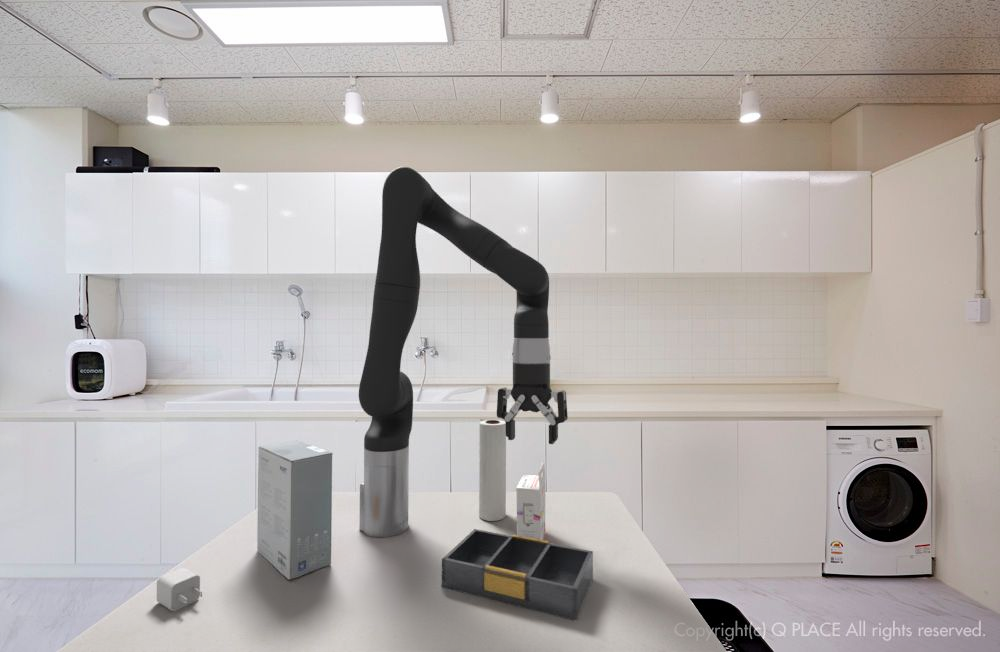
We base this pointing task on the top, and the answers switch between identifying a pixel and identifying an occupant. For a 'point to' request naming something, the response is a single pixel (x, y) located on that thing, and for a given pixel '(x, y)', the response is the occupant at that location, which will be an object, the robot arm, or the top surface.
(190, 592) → the usb wall charger
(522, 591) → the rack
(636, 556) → the top surface
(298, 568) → the hard drive box
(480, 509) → the paper towel roll
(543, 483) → the ink cartridge box
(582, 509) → the top surface
